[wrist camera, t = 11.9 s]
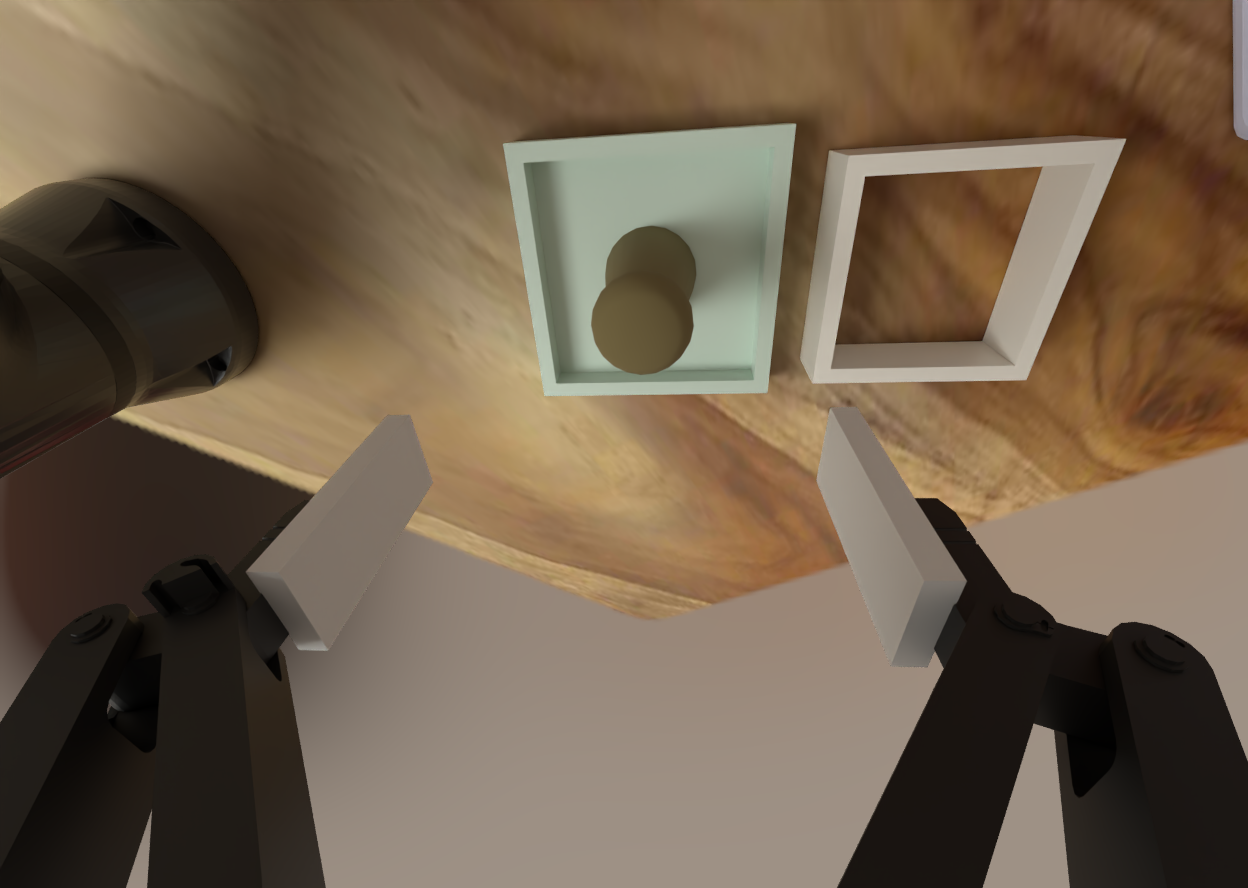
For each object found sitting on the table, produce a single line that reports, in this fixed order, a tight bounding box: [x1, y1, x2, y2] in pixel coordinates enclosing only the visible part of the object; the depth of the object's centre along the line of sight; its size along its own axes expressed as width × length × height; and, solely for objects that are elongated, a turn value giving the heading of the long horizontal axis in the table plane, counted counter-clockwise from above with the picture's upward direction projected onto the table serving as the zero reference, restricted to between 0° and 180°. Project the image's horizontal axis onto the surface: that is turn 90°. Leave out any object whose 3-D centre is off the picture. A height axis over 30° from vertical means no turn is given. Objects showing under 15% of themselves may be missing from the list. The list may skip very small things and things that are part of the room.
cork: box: [591, 226, 696, 375], centre depth 29 cm, size 6×6×11 cm
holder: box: [800, 135, 1126, 383], centre depth 30 cm, size 13×13×4 cm
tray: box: [503, 123, 796, 396], centre depth 33 cm, size 16×16×2 cm
